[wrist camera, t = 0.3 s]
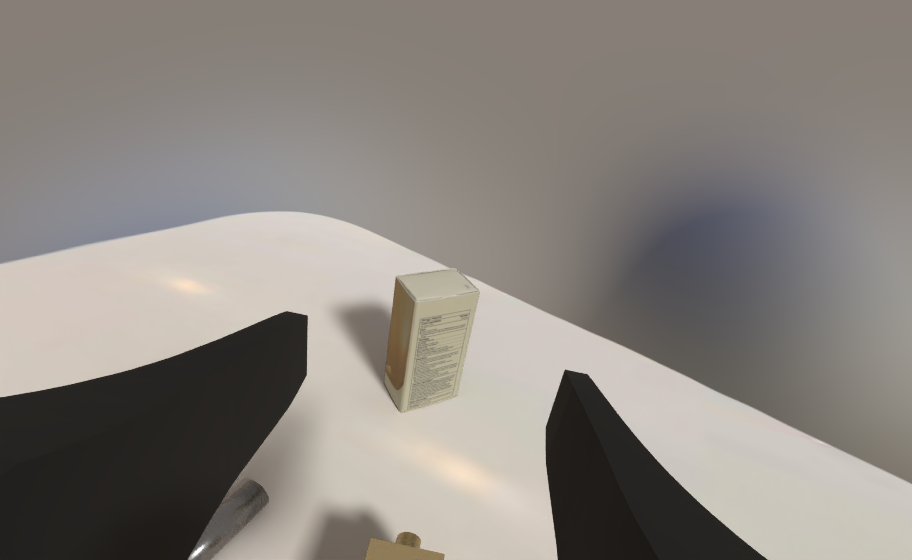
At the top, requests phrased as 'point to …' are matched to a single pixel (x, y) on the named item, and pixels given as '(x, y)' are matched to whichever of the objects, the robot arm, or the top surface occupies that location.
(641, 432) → the top surface
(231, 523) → the steel shaft
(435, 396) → the skincare box
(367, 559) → the brass block with pegs
